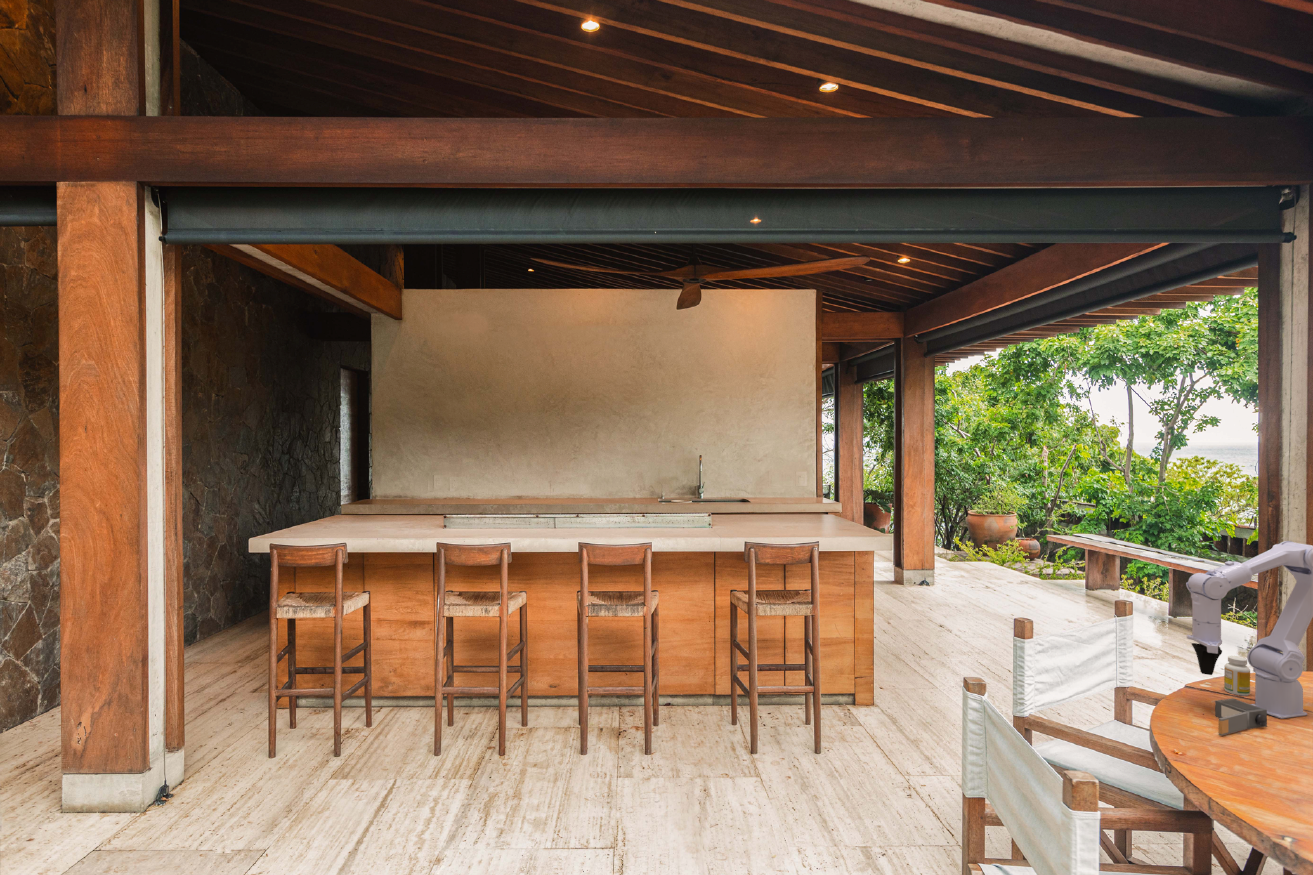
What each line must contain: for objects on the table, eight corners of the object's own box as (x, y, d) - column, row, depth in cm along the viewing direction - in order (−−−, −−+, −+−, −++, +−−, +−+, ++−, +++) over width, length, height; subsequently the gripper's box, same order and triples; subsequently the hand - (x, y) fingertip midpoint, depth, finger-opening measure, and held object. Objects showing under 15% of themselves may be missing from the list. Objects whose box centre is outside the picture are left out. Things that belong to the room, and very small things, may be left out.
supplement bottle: (1222, 691, 183) (1222, 657, 183) (1226, 687, 186) (1226, 653, 186) (1248, 697, 179) (1248, 662, 179) (1252, 693, 182) (1252, 658, 182)
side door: (1217, 734, 155) (1217, 718, 155) (1245, 726, 160) (1245, 711, 160) (1222, 735, 155) (1222, 719, 155) (1249, 728, 159) (1250, 712, 159)
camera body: (1232, 713, 168) (1233, 697, 168) (1270, 727, 160) (1270, 710, 160) (1215, 716, 166) (1215, 700, 166) (1252, 730, 158) (1252, 713, 158)
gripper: (1181, 612, 179) (1181, 662, 179) (1192, 625, 166) (1192, 679, 166) (1215, 616, 175) (1215, 667, 175) (1228, 629, 163) (1228, 684, 162)
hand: (1206, 673), depth 170 cm, fingers closed
